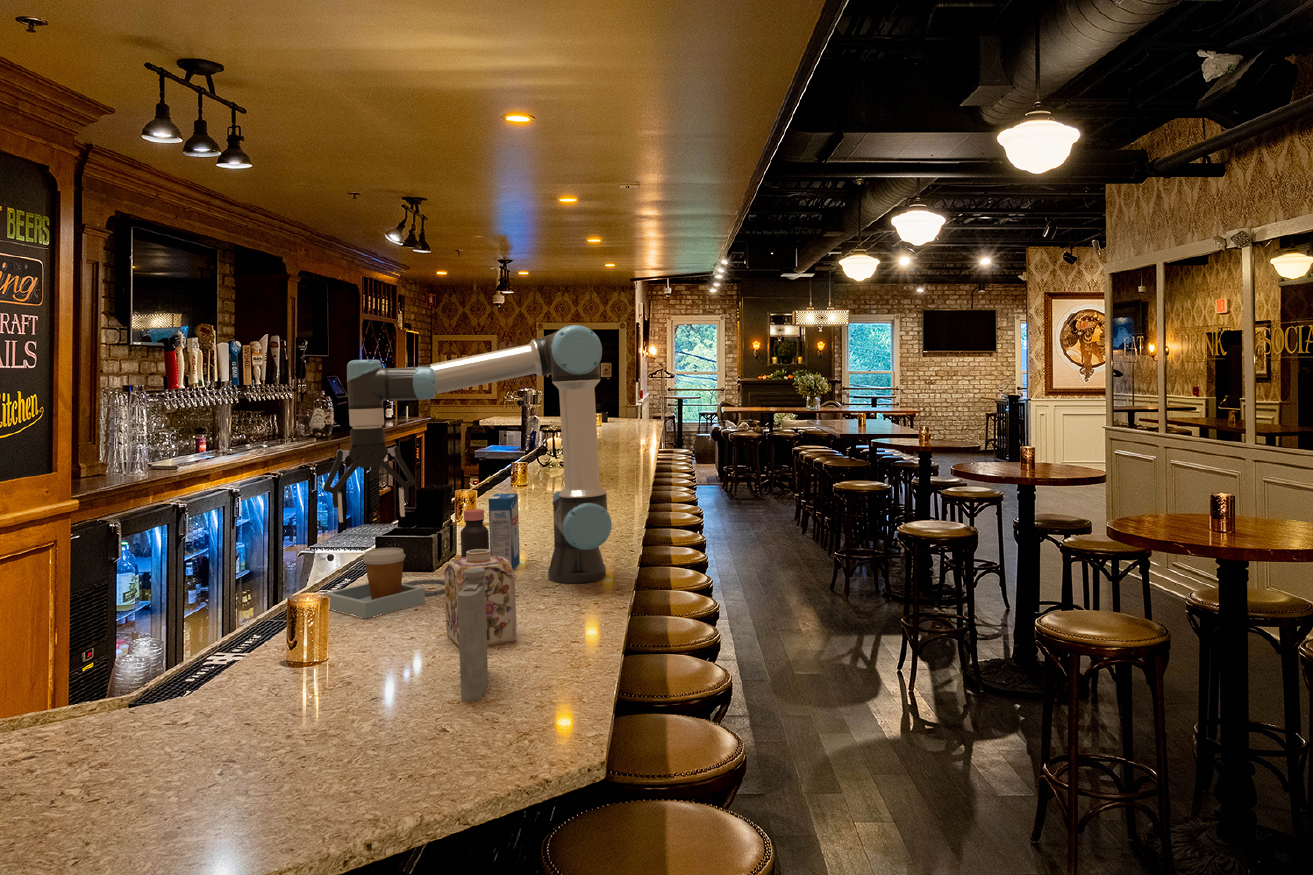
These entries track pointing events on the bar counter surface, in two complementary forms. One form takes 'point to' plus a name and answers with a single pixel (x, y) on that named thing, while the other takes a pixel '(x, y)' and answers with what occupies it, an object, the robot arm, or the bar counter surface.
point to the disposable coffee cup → (384, 571)
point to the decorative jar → (496, 595)
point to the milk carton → (504, 527)
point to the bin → (363, 606)
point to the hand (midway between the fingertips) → (372, 518)
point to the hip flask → (473, 635)
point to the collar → (429, 582)
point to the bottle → (474, 532)
